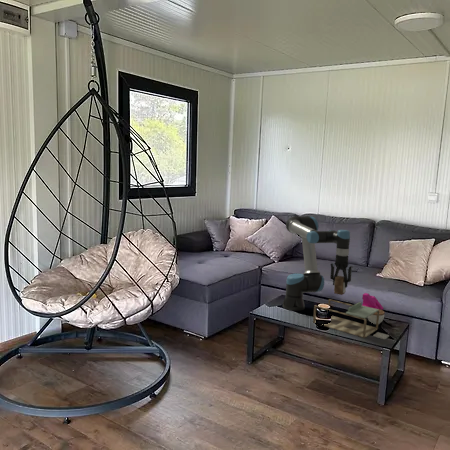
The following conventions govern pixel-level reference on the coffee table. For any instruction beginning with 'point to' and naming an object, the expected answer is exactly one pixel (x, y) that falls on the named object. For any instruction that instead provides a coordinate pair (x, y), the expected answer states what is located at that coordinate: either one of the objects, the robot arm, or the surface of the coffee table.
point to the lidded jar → (373, 317)
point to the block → (339, 285)
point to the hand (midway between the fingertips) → (339, 291)
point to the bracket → (371, 301)
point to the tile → (381, 335)
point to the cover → (361, 310)
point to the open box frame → (348, 323)
